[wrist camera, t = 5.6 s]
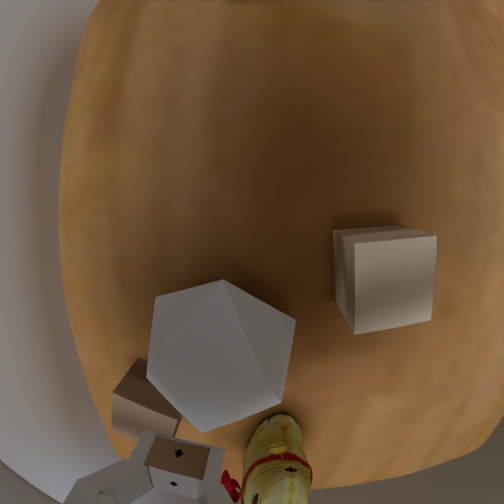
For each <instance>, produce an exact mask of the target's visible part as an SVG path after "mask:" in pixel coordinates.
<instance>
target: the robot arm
mask: <svg viewBox="0 0 504 504" xmlns="http://www.w3.org/2000/svg"><path fill="white" fill-rule="evenodd" d="M224 454H225V448H220V447H214V446H211V445H206V444H201V443H196V442H191V441H187V440H181V439H177V438H174V437H170V436H167V435H163V434H160V433H157V432H154V431H151V430H147V429H145V430H144V431H143V432H142V434H141V436H140V438H139V440H138V442H137V444H136V446H135V448H134V450H133V452H132V454H131V456H130V458H129V459H126V458H125V459H123V460H121V461H119V462H117V463H114V464H112V465H110V466H108V467H106V468H104V469H101V470H99V471H97V472H95V473H92V474H90V475H88V476H85V477H83V478H80V479H78V480H77V481H76V483H75V484H74V486H73V488H72V490H71V491H70V493H69V495H68V496H67V498H66V500H65V501H64V503H63V504H130V503H132V502H133V501H135V500H136V499H138V498H139V497H141V496H142V495H144V494H145V493H147V492H148V491H150V490H151V489H152V487H153V488H156V489H160V490H164V491H167V492H172V493H175V494H179V495H183V496H186V497H190V498H194V499H197V501H198V503H199V504H234V502H233V500H232V499H231V497H230V495H229V494H228V492H227V490H226V489H225V487H224V485H223V484H219V481H220V476H221V470H222V465H223V459H224ZM0 504H62V503H60V502H58V501H57V500H55V499H53V498H52V497H50V496H49V495H47V494H45V493H44V492H42V491H41V490H39V489H38V488H36V487H35V486H34V485H32V484H30V483H29V482H28V481H27V480H25V479H24V478H22V477H21V476H20V475H18V474H17V473H16V472H15V471H13V470H12V469H11V468H9V467H8V466H7V465H6V464H5V463H3V462H2V461H1V460H0Z"/></svg>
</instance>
